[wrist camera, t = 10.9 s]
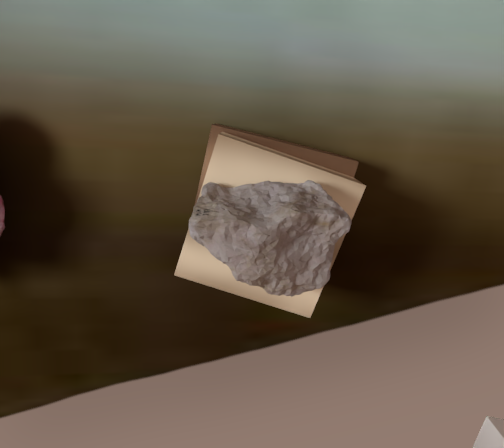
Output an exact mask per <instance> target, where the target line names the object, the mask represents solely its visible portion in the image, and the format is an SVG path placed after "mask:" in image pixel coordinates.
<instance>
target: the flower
mask: <svg viewBox="0 0 504 448" xmlns="http://www.w3.org/2000/svg"><path fill="white" fill-rule="evenodd" d="M4 216H5V208H4V201H3V199H2V197H1V195H0V236H1V235H2V232H3V230H4V228H5V226H4Z"/></svg>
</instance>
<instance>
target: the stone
mask: <svg viewBox="0 0 504 448" xmlns="http://www.w3.org/2000/svg"><path fill="white" fill-rule="evenodd" d="M201 194H202V195H201V197H199V198H198V200H197V203H196V205H195V206H194V209H193V213H192V216H191V217H190V220H189V233H190V236H191V237H192V239H194V240H195V241H196V242H197V243H199V244H201V245H202V246H205V247H206V248H207V249H208V250H209V252H210V253H211V254H212V255H213V256H214V257H215V258H216V259H218V260H220V261H222V263H224V264H226V265H227V266H229V268H230V270H231V271H232V274H233V276H234V278H235V279H236V280H237V281H240V282H243V283H247V284H248V285H251V286H260V287H262V288H263V289H264V290H265V291H266V292H267V293H268V294H271V295H278V296H280V295H285V296H291V297H292V296H294V295H300V294H302V293H303V292H307V291H313V290H315V289H320V288H322V287H323V286H324V285H325V284H326V283H327V282H328V281H329V279H330V269H329V268H330V265H331V262H332V257H333V252H334V248H335V243H336V242H337V241H338V239H339V238H340V237H342V236H343V235H344V234H346V233H347V232H349V231H350V226H351V218H350V217H349V215H348V214H347V213H346V212H345V211H344V210H343V209H342V208H341V206H340V205H339V204H338V203H337V202H335V201H334V200H333V199H332V197H331V196H330V195H328V194H327V192H326V191H325V190H323V188H322V186H321V185H320V184H318V183H315V182H314V181H311V180H307V181H305V182H304V183H298V184H296V183H282V182H271V181H264V182H260V183H256V184H245V185H241V186H237V187H234V188H225V187H222V186H220V185H219V184H217V183H213V182H209V183H207V184H205V185H204V186H203V187H202V191H201Z"/></svg>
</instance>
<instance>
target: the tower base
mask: <svg viewBox="0 0 504 448" xmlns="http://www.w3.org/2000/svg"><path fill="white" fill-rule="evenodd" d="M221 132H225V133H228V134H231V135H234V136H237V137H240V138H243V139H245V140H248V141H251V142H254V143H257V144H260V145H262V146H265V147H268V148H271V149H274V150H277V151H280V152H282V153H285V154H288V155H291V156H294V157H297V158H299V159H302V160H305V161H308V162H311V163H314V164H317V165H319V166H322V167H325V168H328V169H331V170H334V171H336V172H339V173H342V174H345V175H348V176H351V177H353V178H354V176H355V173H356V170H357V166H358V163H359V162H358V161H356V160H354V159H351V158H349V157H345V156H341V155H337V154H334V153H330V152H326V151H322V150H318V149H314V148H310V147H306V146H302V145H298V144H294V143H290V142H286V141H282V140H279V139H275V138H271V137H267V136H263V135H259V134H255V133H251V132H247V131H243V130H239V129H235V128H231V127H227V126H223V125H220V124H212V127H211V131H210V136H209V141H208V145H207V150H206V155H205V159H204V164H203V169H202V173H201V178H200V183H199V187H198V192H197V197H196V201H195V205H196V203H197V200H198V197H199V194H200V191H201V188H202V185H203V182H204V178H205V175H206V172H207V169H208V166H209V162H210V159H211V156H212V153H213V150H214V147H215V143H216V140H217V137H218V134H219V133H221Z"/></svg>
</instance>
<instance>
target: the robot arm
mask: <svg viewBox="0 0 504 448" xmlns="http://www.w3.org/2000/svg"><path fill="white" fill-rule="evenodd" d="M473 448H504V419H500V418H494V417H488V416H487V417H486V419H485V421H484V423H483V425H482V428H481V430H480V432H479V435H478V437H477V439H476V441H475V443H474V445H473Z"/></svg>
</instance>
